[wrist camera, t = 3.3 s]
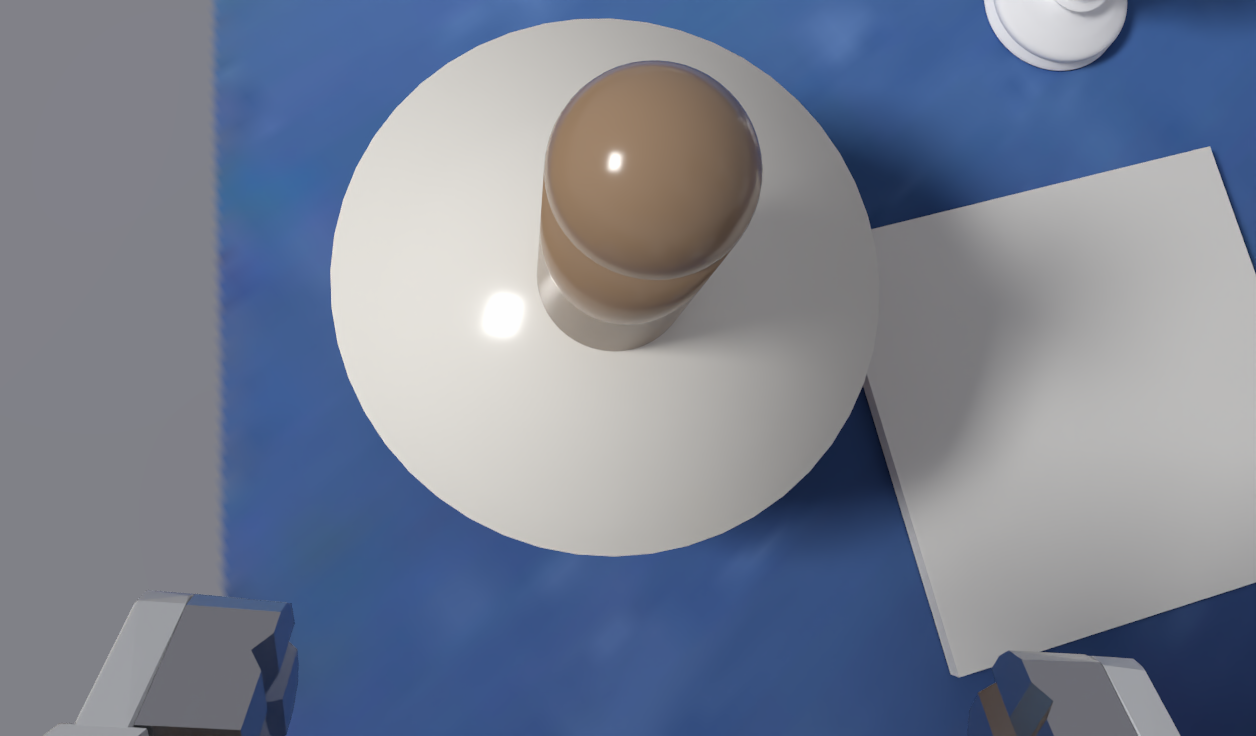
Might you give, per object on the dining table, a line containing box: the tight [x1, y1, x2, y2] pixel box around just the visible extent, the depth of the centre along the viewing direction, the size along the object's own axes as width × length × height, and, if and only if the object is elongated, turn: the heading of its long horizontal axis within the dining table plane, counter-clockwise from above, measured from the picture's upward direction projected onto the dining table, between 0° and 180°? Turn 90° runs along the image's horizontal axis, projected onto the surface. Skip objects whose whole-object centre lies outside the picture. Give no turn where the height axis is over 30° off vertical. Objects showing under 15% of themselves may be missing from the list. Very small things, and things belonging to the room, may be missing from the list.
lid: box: [331, 19, 879, 556], centre depth 19 cm, size 13×13×10 cm
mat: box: [863, 146, 1256, 677], centre depth 32 cm, size 14×14×1 cm
